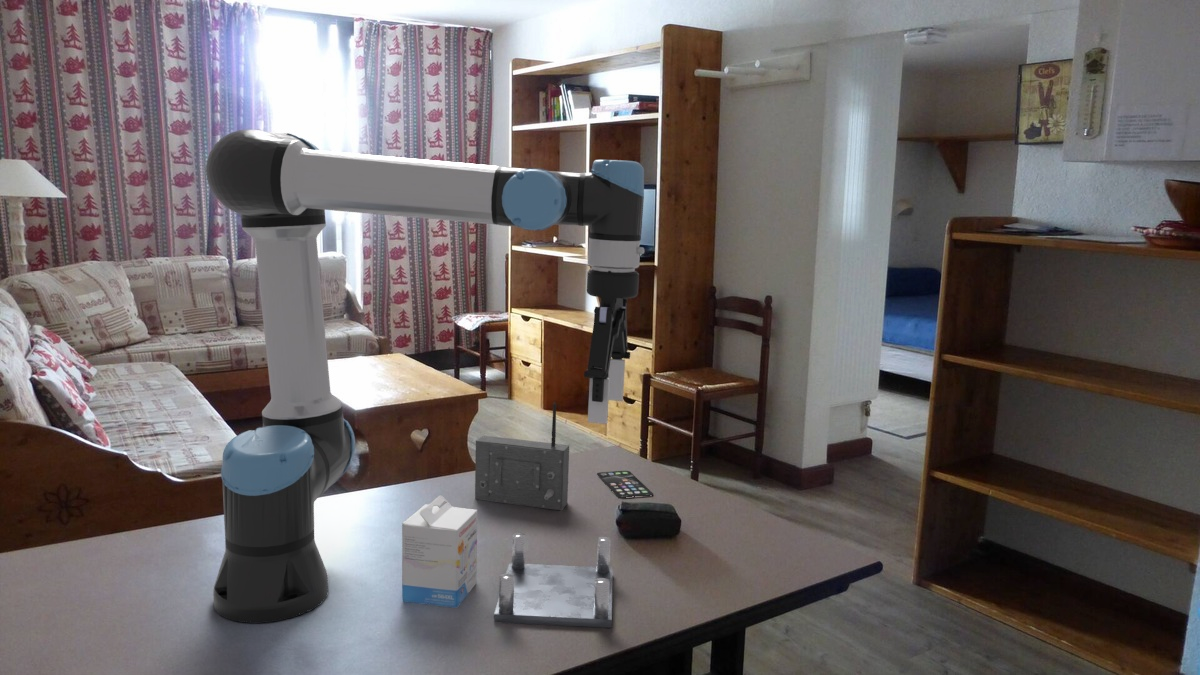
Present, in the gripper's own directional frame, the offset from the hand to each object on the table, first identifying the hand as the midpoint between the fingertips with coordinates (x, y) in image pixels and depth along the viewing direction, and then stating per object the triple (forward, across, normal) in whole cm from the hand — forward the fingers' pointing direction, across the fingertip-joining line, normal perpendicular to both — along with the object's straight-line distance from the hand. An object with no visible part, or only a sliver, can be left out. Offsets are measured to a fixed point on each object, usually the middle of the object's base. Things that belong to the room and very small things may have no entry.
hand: (606, 411), depth 129 cm
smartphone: (+26, +41, +2) cm, 49 cm away
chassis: (+26, -9, +4) cm, 28 cm away
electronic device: (+26, +25, +20) cm, 41 cm away
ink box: (+26, -12, +21) cm, 36 cm away
